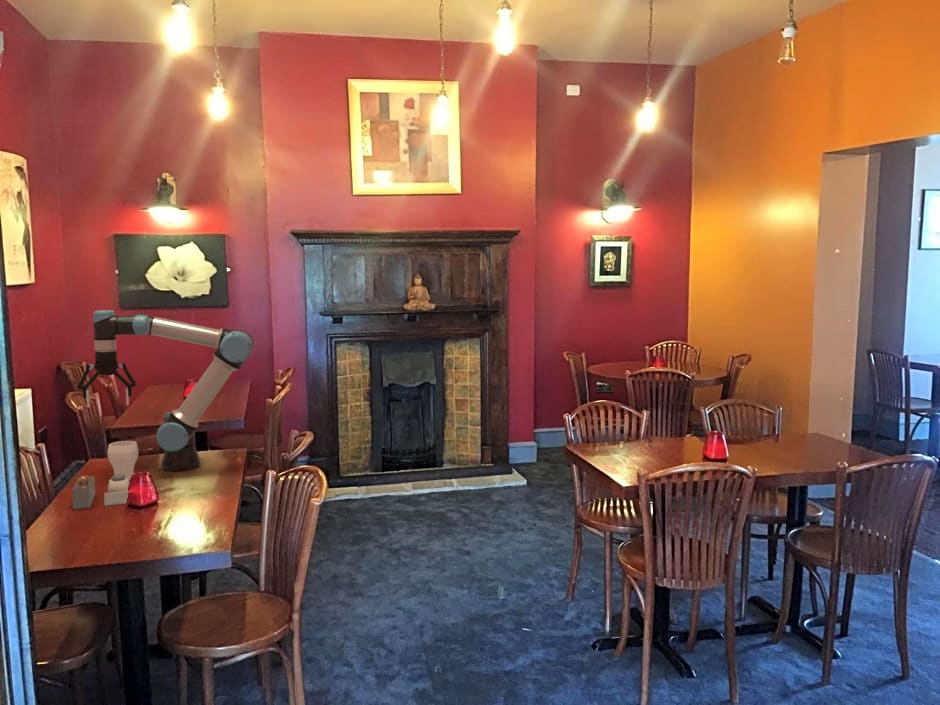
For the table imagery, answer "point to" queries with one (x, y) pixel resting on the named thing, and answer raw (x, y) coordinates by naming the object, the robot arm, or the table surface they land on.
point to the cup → (123, 457)
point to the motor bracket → (86, 493)
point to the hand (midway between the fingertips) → (108, 405)
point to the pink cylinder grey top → (118, 483)
